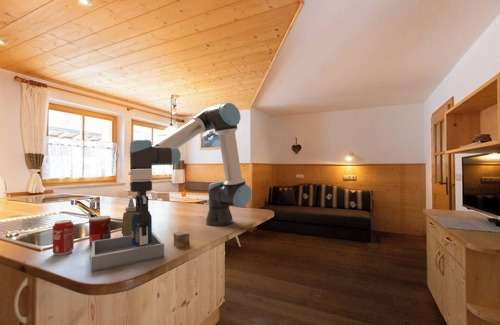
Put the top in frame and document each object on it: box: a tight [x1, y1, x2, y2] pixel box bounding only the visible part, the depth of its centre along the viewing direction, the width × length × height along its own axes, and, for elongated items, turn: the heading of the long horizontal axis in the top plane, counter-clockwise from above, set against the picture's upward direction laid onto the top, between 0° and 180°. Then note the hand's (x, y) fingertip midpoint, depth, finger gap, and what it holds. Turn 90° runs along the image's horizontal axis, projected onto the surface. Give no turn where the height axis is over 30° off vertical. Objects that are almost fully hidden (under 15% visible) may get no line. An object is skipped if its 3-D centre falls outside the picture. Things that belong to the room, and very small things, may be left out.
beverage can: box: [52, 219, 75, 256], centre depth 92 cm, size 6×6×12 cm
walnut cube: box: [173, 230, 190, 249], centre depth 100 cm, size 5×5×5 cm
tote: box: [91, 231, 165, 273], centre depth 89 cm, size 22×20×5 cm
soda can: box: [132, 210, 153, 247], centre depth 92 cm, size 7×7×12 cm
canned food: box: [88, 215, 112, 247], centre depth 104 cm, size 8×8×11 cm
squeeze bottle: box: [121, 198, 136, 237], centre depth 110 cm, size 8×8×18 cm
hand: (142, 241), depth 92 cm, fingers closed on soda can, 7 cm apart
